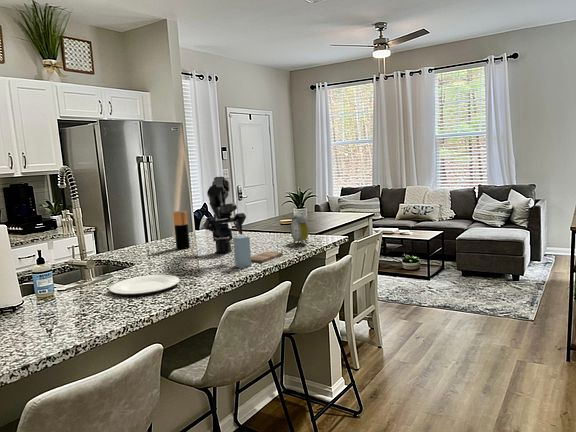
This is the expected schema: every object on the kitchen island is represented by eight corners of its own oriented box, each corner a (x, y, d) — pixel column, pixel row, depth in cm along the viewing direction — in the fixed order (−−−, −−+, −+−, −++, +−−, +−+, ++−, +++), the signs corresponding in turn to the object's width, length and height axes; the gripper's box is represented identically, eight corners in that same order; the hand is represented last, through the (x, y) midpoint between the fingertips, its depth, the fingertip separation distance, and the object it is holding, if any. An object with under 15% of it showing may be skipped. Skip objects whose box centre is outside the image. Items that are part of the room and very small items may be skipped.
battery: (192, 248, 242) (188, 210, 239) (179, 250, 238) (175, 212, 235) (186, 246, 248) (183, 209, 245) (174, 248, 244) (171, 211, 241)
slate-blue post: (235, 266, 194) (233, 237, 193) (245, 263, 197) (243, 235, 196) (241, 267, 190) (238, 238, 189) (251, 265, 193) (249, 236, 192)
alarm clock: (290, 242, 241) (289, 214, 240) (302, 240, 244) (300, 213, 242) (300, 245, 231) (299, 216, 229) (312, 244, 234) (310, 215, 232)
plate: (125, 280, 181) (124, 276, 181) (187, 277, 180) (187, 273, 180) (97, 300, 156) (96, 295, 156) (169, 296, 155) (168, 291, 155)
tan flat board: (262, 262, 197) (262, 260, 197) (246, 261, 202) (245, 258, 202) (282, 255, 210) (282, 252, 210) (266, 253, 215) (266, 251, 215)
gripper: (204, 199, 195) (218, 226, 188) (242, 195, 206) (256, 221, 198) (198, 216, 203) (211, 243, 195) (235, 211, 213) (248, 237, 206)
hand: (232, 235), depth 198 cm, fingers open, 9 cm apart
